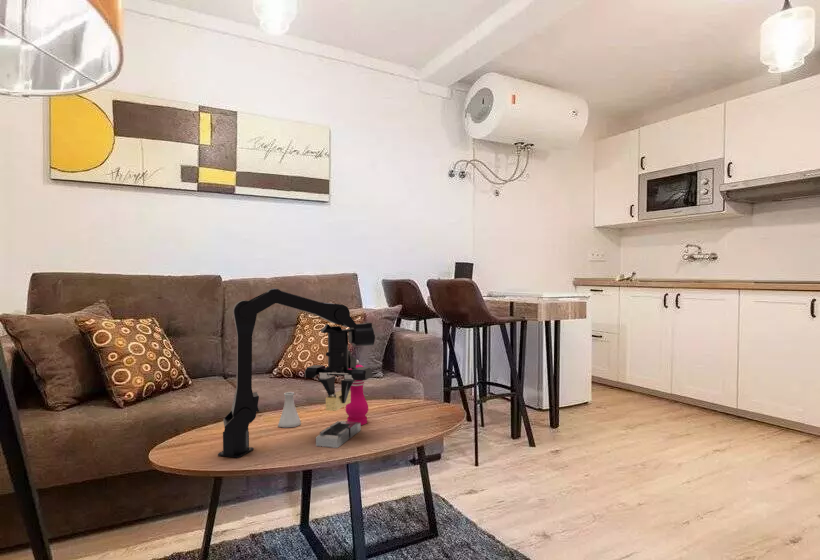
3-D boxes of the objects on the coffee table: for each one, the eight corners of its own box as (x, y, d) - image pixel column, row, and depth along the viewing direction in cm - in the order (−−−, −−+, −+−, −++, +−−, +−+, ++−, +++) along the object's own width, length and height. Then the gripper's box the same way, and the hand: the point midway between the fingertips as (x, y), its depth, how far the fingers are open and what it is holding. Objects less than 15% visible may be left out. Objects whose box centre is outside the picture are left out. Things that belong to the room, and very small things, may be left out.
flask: (304, 421, 151) (304, 390, 151) (296, 428, 143) (296, 395, 144) (282, 421, 151) (282, 390, 151) (273, 428, 144) (273, 395, 144)
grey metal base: (337, 448, 125) (337, 436, 125) (315, 446, 127) (315, 434, 127) (360, 430, 140) (360, 420, 140) (341, 428, 142) (341, 419, 142)
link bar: (341, 401, 139) (341, 388, 139) (350, 402, 138) (350, 388, 138) (325, 410, 129) (325, 395, 129) (335, 411, 128) (335, 396, 129)
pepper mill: (365, 418, 153) (364, 357, 153) (371, 424, 146) (370, 360, 147) (343, 421, 150) (342, 358, 151) (348, 427, 144) (347, 361, 144)
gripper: (378, 345, 139) (379, 398, 139) (321, 343, 144) (322, 394, 144) (364, 350, 128) (364, 407, 128) (303, 348, 134) (304, 403, 134)
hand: (338, 402), depth 134 cm, fingers closed on link bar, 3 cm apart
